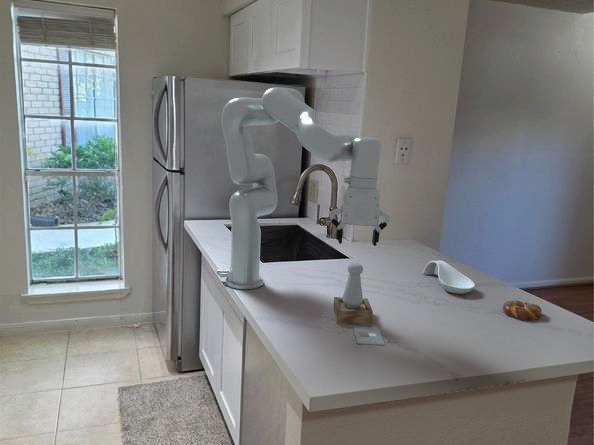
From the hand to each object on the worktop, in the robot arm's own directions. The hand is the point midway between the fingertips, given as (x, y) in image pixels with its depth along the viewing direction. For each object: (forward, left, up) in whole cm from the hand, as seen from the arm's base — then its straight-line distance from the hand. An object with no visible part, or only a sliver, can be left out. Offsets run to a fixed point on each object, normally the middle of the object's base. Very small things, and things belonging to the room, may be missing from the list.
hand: (356, 243), depth 145 cm
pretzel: (+54, +8, -23) cm, 59 cm away
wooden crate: (0, 0, -22) cm, 22 cm away
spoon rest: (+37, +32, -23) cm, 54 cm away
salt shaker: (0, 0, -19) cm, 19 cm away
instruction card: (+3, -12, -22) cm, 25 cm away
